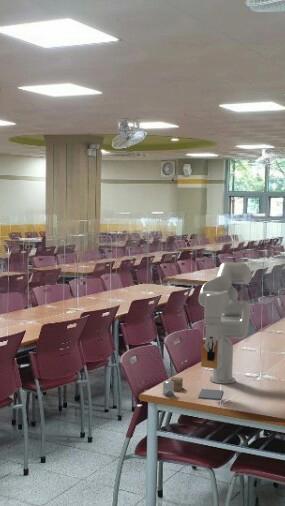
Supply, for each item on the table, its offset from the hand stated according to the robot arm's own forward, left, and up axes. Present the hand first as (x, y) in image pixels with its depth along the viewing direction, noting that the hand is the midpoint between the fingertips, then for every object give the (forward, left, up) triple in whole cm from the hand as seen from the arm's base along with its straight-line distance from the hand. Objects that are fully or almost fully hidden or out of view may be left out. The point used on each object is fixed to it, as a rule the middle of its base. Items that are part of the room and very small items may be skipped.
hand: (211, 358), depth 298 cm
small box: (0, 0, -4) cm, 4 cm away
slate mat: (0, 0, -17) cm, 17 cm away
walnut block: (-6, -17, -17) cm, 25 cm away
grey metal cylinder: (+5, -19, -17) cm, 26 cm away
